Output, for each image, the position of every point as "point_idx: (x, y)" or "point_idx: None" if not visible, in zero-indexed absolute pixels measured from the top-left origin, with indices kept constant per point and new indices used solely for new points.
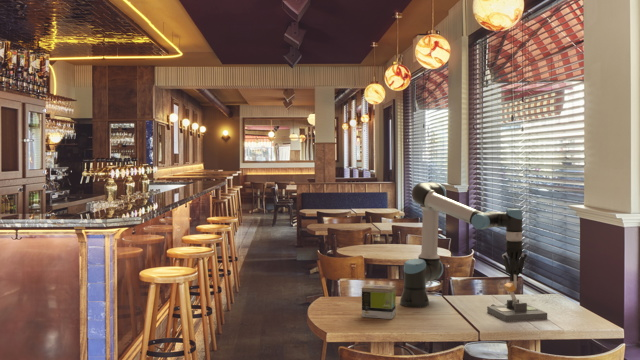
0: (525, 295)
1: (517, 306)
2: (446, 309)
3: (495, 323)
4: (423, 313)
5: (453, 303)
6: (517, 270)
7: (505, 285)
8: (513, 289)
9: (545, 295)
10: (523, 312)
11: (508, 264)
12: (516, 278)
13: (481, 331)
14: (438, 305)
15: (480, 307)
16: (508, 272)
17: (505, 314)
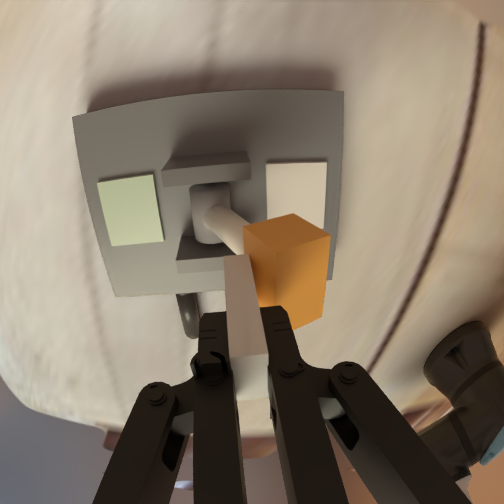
0: (89, 415)
1: (234, 159)
2: (429, 307)
3: (391, 79)
4: (500, 266)
5: None
6: (215, 420)
7: (321, 294)
8: (272, 225)
9: (40, 402)
10: (202, 134)
11: (417, 480)
12: (229, 323)
13: (475, 17)
14: (415, 347)
15: (305, 330)
16: (368, 377)
17: (335, 109)
